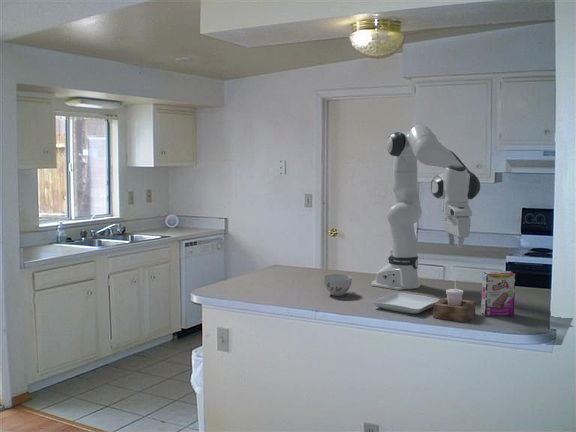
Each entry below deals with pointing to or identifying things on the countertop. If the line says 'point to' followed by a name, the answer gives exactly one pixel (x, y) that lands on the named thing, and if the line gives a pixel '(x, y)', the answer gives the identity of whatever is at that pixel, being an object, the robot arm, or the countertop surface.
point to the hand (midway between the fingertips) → (455, 246)
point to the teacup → (337, 283)
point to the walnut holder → (454, 310)
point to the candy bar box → (498, 293)
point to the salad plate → (405, 303)
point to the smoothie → (454, 296)
